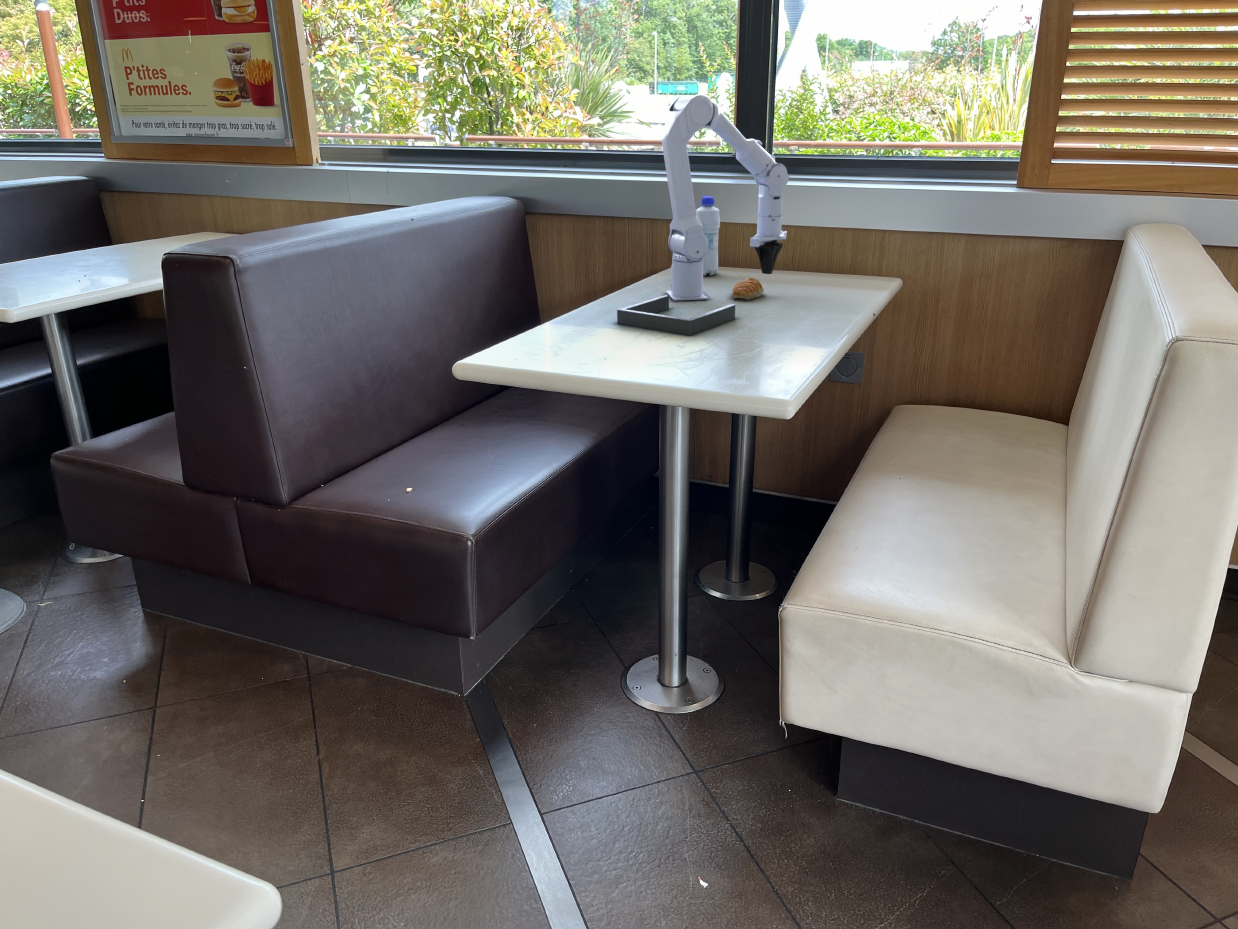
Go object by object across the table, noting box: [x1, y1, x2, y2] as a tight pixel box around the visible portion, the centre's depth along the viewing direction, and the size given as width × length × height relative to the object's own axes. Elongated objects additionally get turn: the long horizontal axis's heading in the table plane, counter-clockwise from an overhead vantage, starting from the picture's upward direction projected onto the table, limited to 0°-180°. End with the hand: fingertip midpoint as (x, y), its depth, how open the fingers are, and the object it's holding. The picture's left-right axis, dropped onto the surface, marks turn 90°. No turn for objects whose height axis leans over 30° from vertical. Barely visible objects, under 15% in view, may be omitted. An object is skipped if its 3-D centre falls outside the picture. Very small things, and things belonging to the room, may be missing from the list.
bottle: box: [696, 195, 721, 277], centre depth 234 cm, size 7×7×20 cm
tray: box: [616, 294, 736, 337], centre depth 188 cm, size 18×18×3 cm
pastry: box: [731, 277, 765, 301], centre depth 209 cm, size 9×7×4 cm
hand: (767, 273), depth 216 cm, fingers closed
